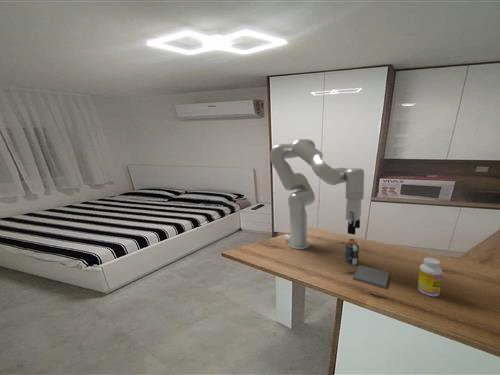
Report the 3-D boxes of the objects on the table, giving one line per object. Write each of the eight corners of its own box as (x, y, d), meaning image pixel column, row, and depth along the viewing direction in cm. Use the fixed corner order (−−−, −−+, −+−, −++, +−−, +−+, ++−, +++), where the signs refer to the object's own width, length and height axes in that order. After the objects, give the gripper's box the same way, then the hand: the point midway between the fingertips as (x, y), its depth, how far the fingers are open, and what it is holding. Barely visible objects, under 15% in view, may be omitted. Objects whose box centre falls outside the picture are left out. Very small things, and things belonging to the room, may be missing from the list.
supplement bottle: (432, 299, 83) (436, 266, 81) (413, 289, 89) (416, 258, 87) (443, 294, 85) (447, 262, 83) (424, 284, 91) (427, 254, 89)
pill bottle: (359, 265, 108) (360, 242, 106) (346, 264, 109) (347, 242, 107) (356, 259, 113) (357, 237, 111) (343, 258, 115) (344, 237, 113)
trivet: (353, 279, 97) (353, 277, 97) (359, 266, 106) (359, 264, 106) (385, 288, 90) (385, 286, 90) (389, 274, 99) (389, 272, 99)
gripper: (350, 191, 114) (349, 224, 117) (341, 198, 101) (340, 235, 103) (366, 192, 110) (366, 226, 113) (359, 199, 96) (358, 238, 99)
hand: (353, 230), depth 108 cm, fingers open, 9 cm apart
